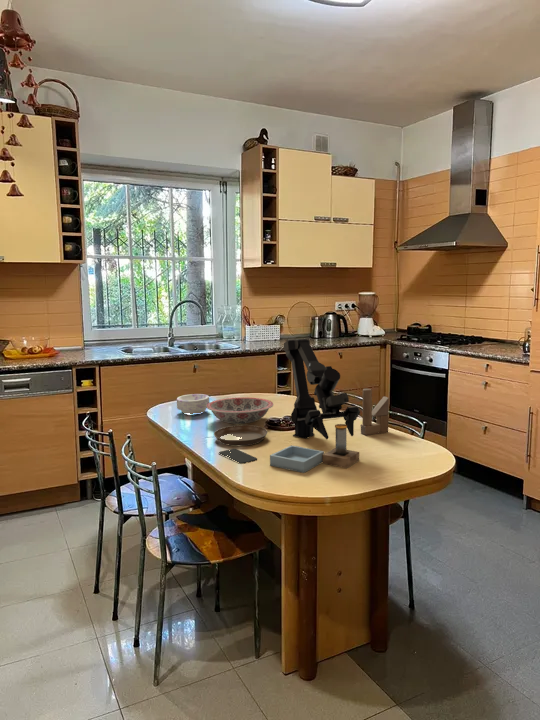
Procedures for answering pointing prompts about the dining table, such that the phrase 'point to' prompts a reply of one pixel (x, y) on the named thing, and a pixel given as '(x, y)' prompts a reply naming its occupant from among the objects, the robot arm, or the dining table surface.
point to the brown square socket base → (341, 458)
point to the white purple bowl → (192, 403)
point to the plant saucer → (242, 434)
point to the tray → (296, 458)
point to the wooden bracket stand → (374, 414)
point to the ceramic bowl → (239, 409)
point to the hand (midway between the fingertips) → (340, 437)
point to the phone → (238, 455)
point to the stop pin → (341, 439)
